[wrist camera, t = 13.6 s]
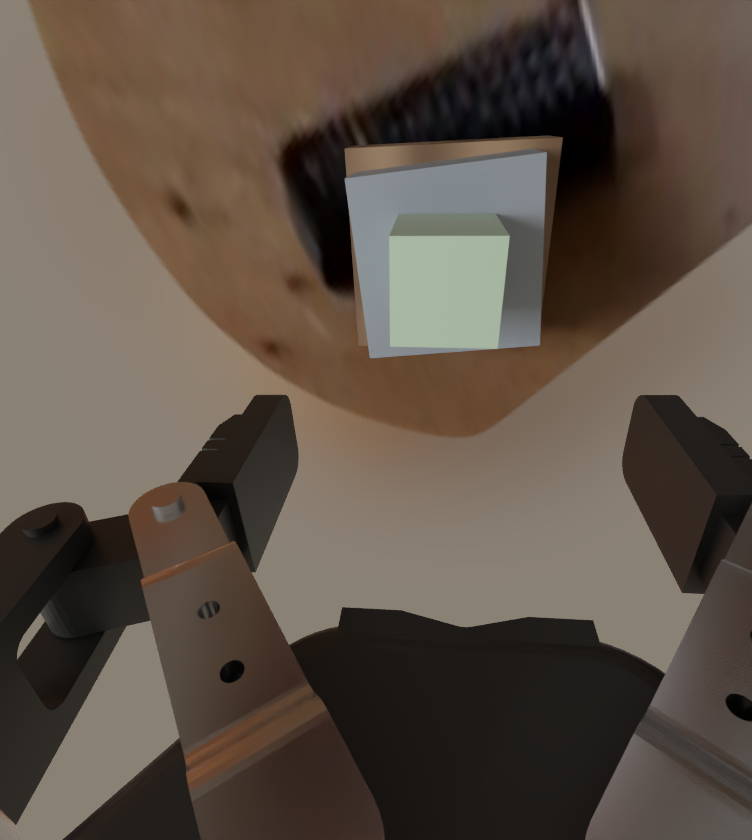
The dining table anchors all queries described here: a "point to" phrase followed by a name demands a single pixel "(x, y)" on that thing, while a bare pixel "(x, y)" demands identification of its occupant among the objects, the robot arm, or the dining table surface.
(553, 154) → the walnut base slab
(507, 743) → the robot arm
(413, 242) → the sage block
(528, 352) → the dining table surface
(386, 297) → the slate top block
